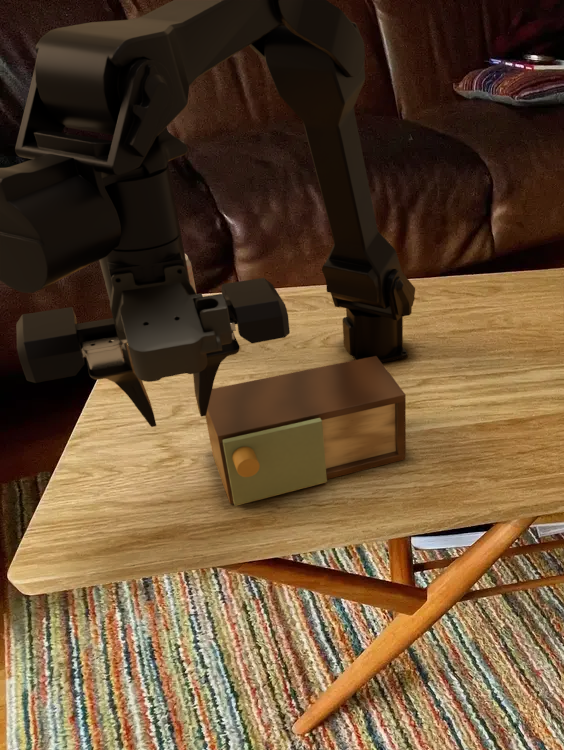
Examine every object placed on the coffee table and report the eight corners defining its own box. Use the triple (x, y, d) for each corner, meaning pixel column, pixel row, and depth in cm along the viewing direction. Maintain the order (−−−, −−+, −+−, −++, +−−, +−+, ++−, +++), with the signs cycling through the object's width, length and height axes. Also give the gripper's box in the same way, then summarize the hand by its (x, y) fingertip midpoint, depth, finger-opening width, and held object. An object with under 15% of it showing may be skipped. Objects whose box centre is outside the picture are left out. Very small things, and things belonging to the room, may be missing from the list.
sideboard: (378, 418, 84) (376, 355, 79) (405, 459, 78) (405, 394, 74) (213, 456, 78) (200, 390, 73) (230, 504, 72) (217, 436, 67)
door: (325, 478, 75) (320, 417, 70) (333, 494, 73) (328, 432, 69) (233, 502, 72) (222, 439, 67) (239, 519, 70) (228, 456, 65)
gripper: (-14, 306, 44) (60, 508, 53) (301, 260, 50) (317, 447, 60) (-12, 237, 52) (52, 423, 61) (260, 205, 58) (280, 378, 68)
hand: (178, 418), depth 62 cm, fingers open, 4 cm apart
